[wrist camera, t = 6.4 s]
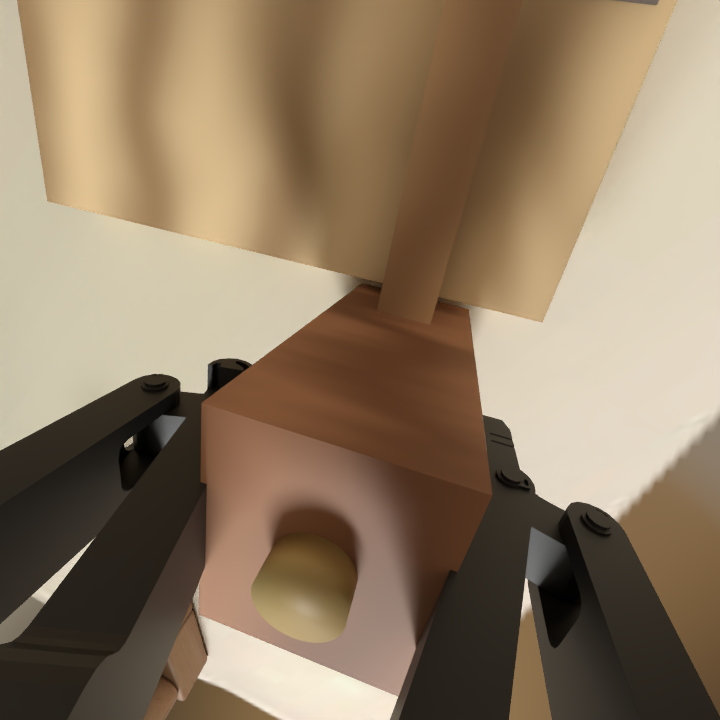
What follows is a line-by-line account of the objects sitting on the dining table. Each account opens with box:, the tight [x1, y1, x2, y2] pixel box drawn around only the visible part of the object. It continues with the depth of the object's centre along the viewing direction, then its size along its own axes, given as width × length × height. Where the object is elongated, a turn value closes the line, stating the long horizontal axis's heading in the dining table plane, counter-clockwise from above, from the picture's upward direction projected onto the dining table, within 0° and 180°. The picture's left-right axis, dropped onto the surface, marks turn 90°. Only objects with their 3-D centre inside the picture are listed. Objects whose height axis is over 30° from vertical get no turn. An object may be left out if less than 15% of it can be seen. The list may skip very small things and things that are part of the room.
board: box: [17, 0, 677, 322], centre depth 15 cm, size 24×12×3 cm, turn 79°
